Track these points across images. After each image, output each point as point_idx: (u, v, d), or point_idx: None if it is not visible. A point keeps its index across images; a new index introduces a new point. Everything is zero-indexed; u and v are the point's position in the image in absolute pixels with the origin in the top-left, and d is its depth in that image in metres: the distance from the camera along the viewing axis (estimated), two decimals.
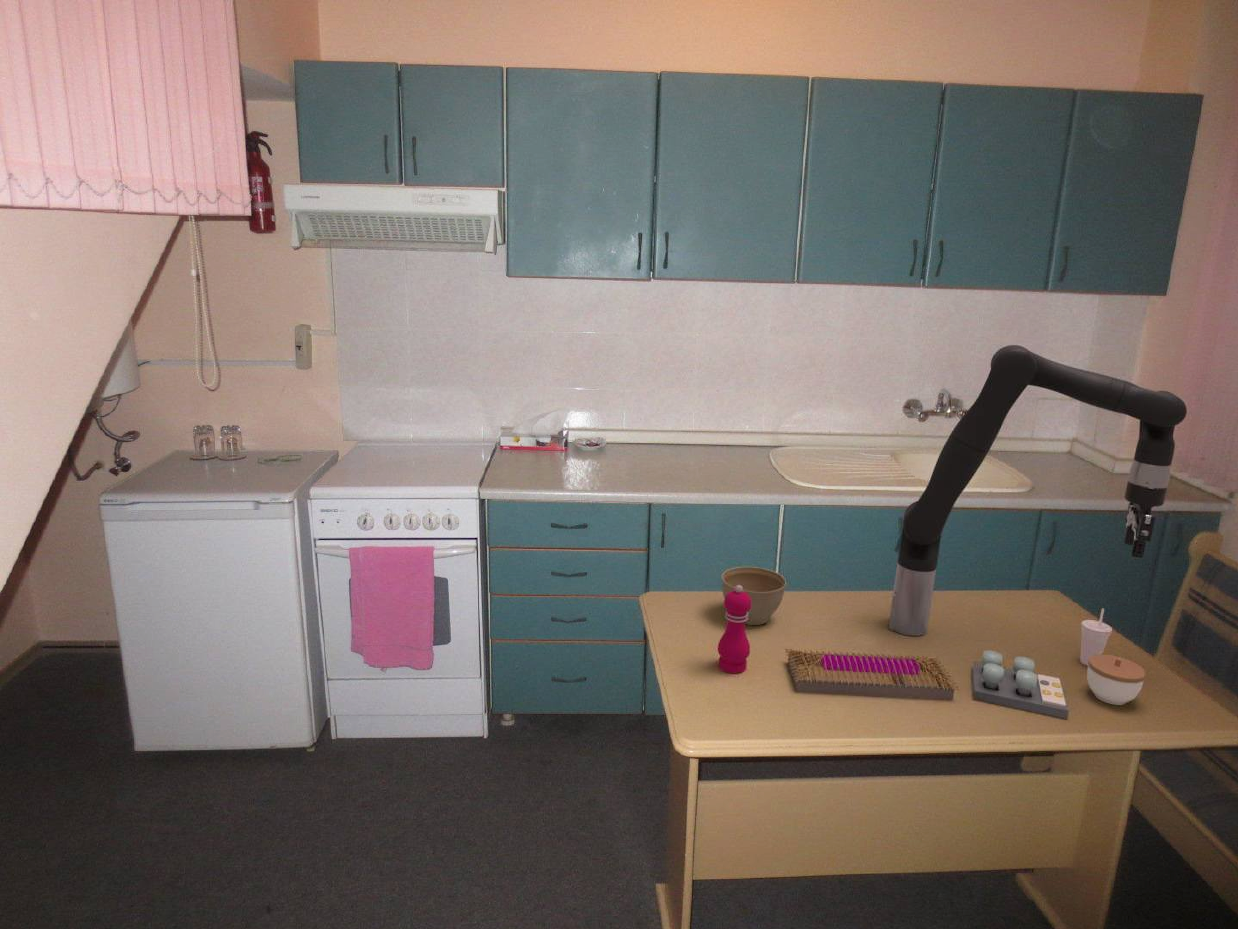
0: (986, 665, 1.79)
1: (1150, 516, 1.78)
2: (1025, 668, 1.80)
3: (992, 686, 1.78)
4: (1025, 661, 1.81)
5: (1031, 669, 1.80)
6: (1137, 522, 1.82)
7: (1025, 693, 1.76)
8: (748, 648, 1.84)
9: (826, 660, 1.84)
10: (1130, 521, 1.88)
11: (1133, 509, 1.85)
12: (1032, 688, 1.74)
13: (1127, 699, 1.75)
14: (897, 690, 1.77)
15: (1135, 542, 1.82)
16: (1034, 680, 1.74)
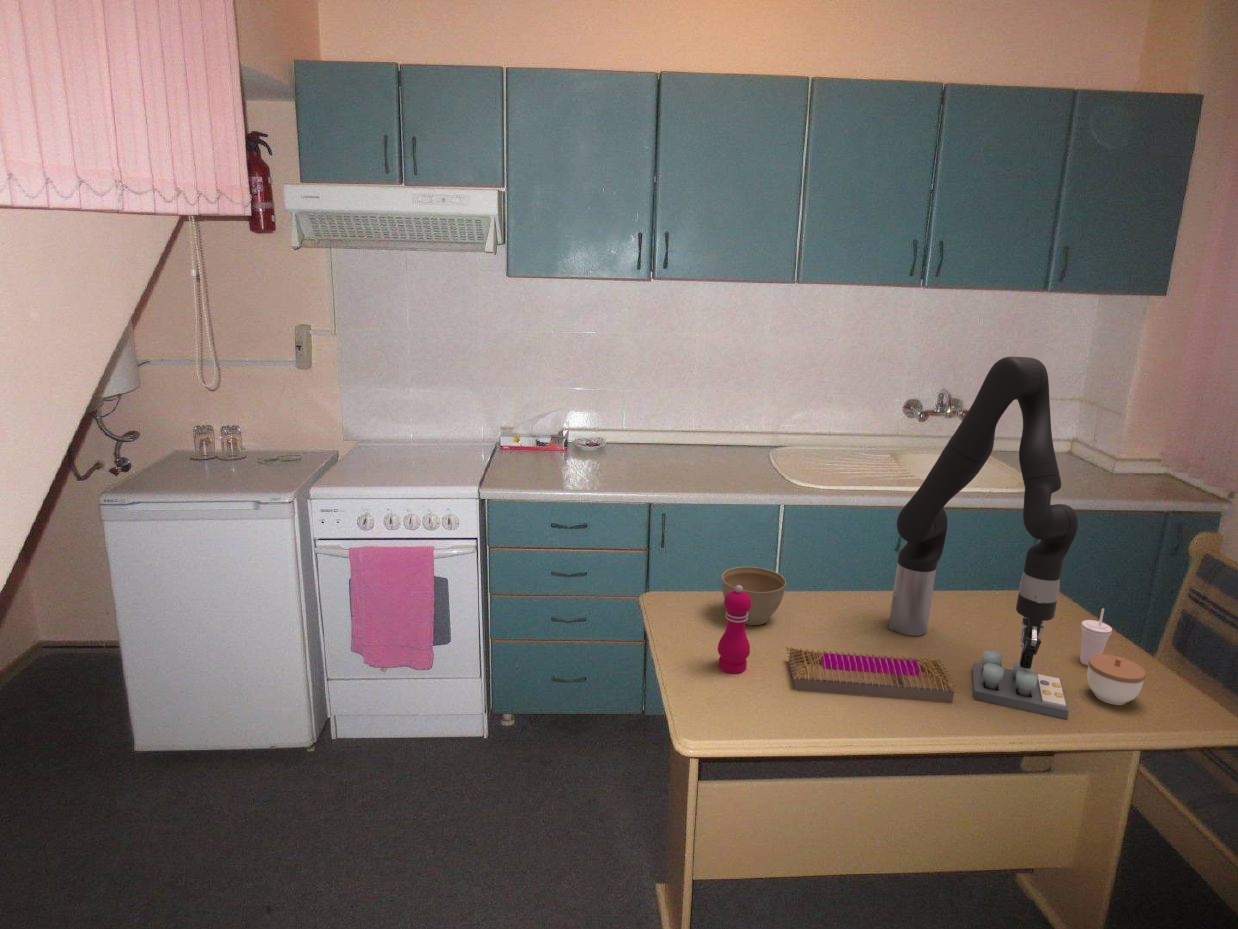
0: (986, 665, 1.79)
1: (1036, 642, 1.74)
2: None
3: (992, 686, 1.78)
4: None
5: None
6: None
7: (1025, 693, 1.76)
8: (748, 648, 1.84)
9: (826, 659, 1.84)
10: (1024, 637, 1.81)
11: (1025, 619, 1.81)
12: (1032, 688, 1.74)
13: (1127, 699, 1.75)
14: (896, 691, 1.76)
15: (1023, 653, 1.81)
16: (1034, 680, 1.74)
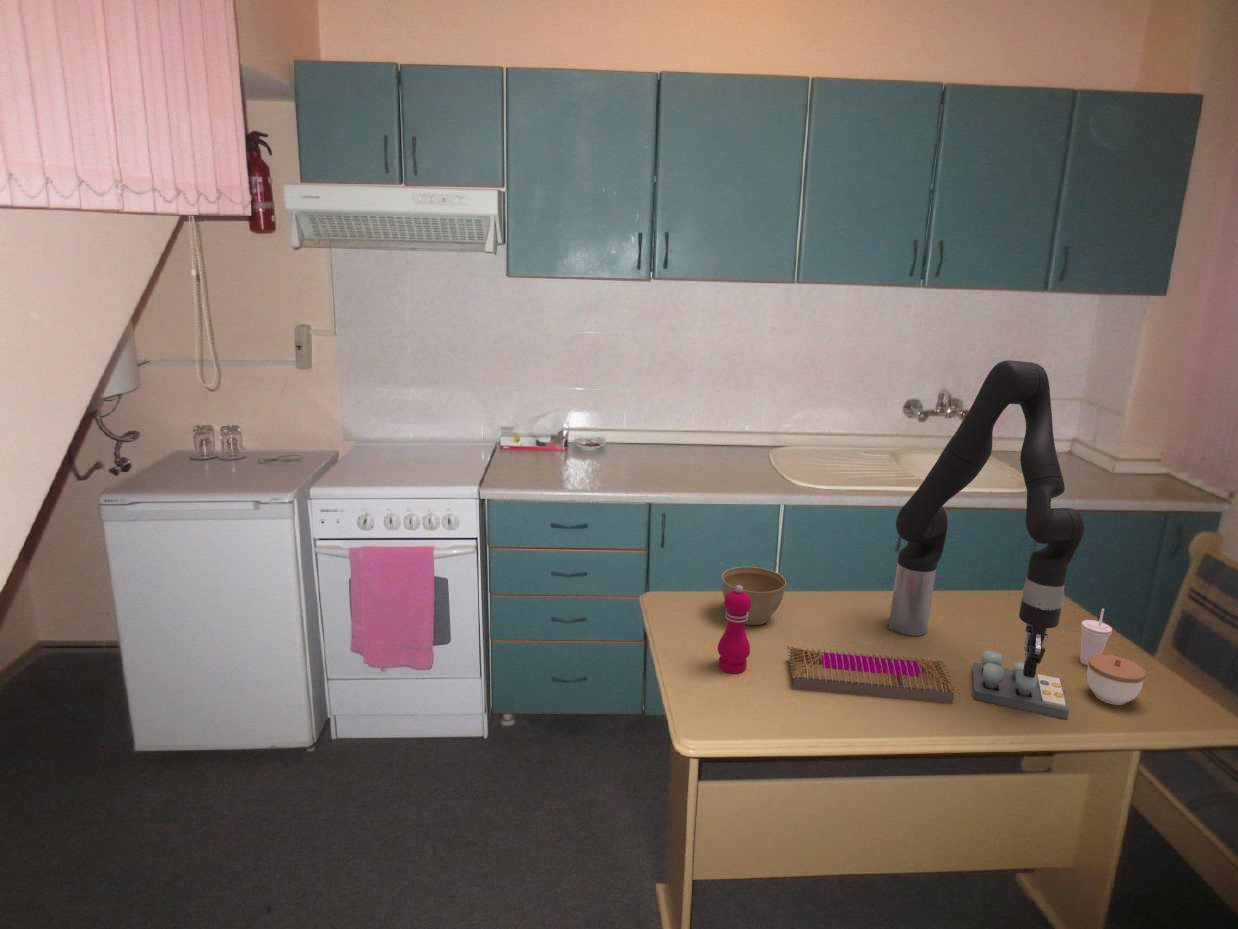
0: (986, 665, 1.79)
1: (1040, 650, 1.68)
2: None
3: (992, 686, 1.78)
4: None
5: None
6: None
7: (1025, 693, 1.76)
8: (748, 648, 1.84)
9: (826, 658, 1.85)
10: None
11: (1028, 626, 1.74)
12: (1032, 689, 1.74)
13: (1127, 699, 1.75)
14: (896, 691, 1.76)
15: (1026, 662, 1.74)
16: (1034, 681, 1.74)
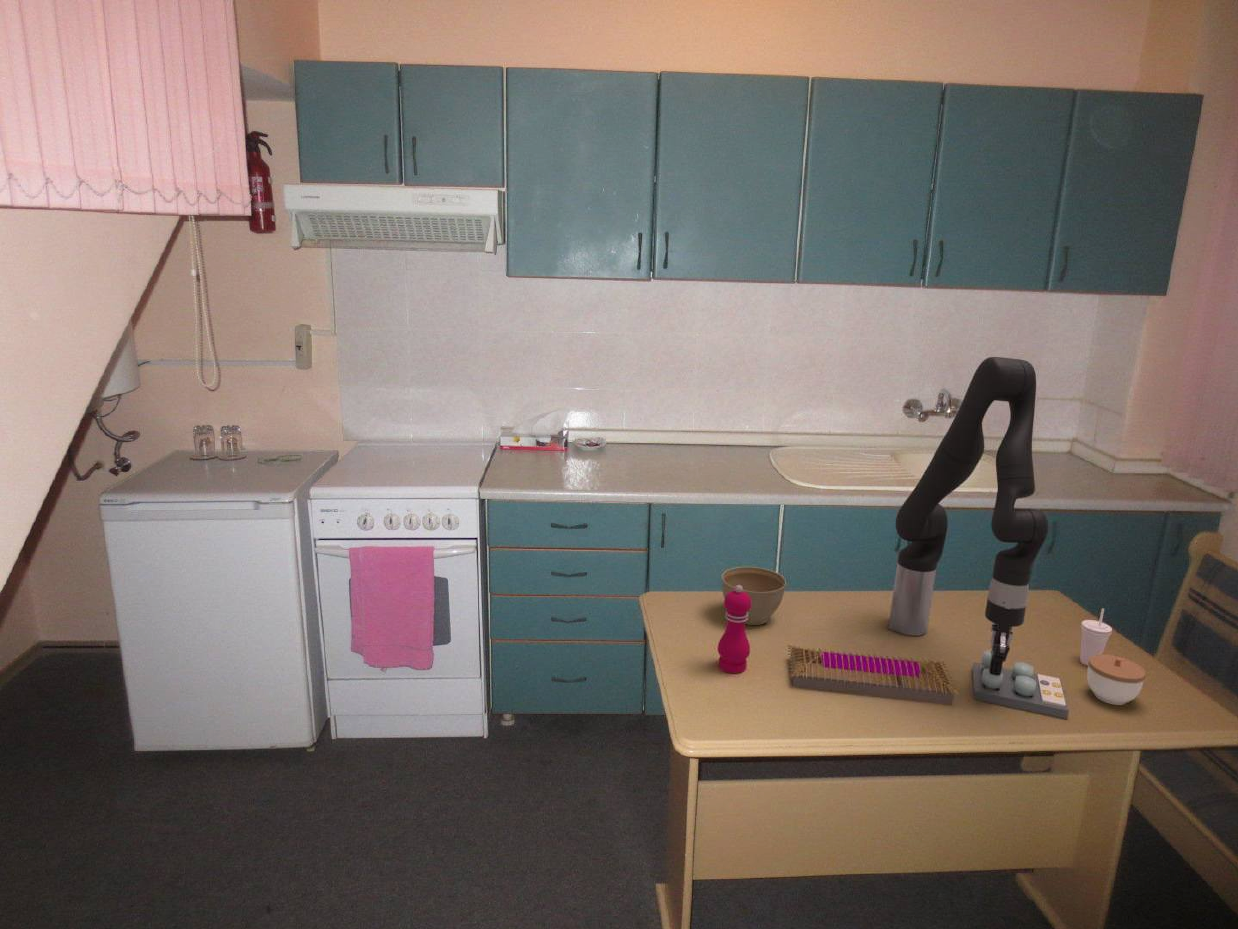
0: (985, 670, 1.79)
1: (1004, 649, 1.70)
2: (1024, 674, 1.80)
3: None
4: (1024, 667, 1.82)
5: (1030, 675, 1.80)
6: None
7: None
8: (748, 648, 1.84)
9: (827, 658, 1.85)
10: (994, 643, 1.77)
11: (994, 625, 1.77)
12: (1031, 694, 1.75)
13: (1127, 699, 1.75)
14: (895, 691, 1.76)
15: (992, 660, 1.77)
16: (1033, 686, 1.74)
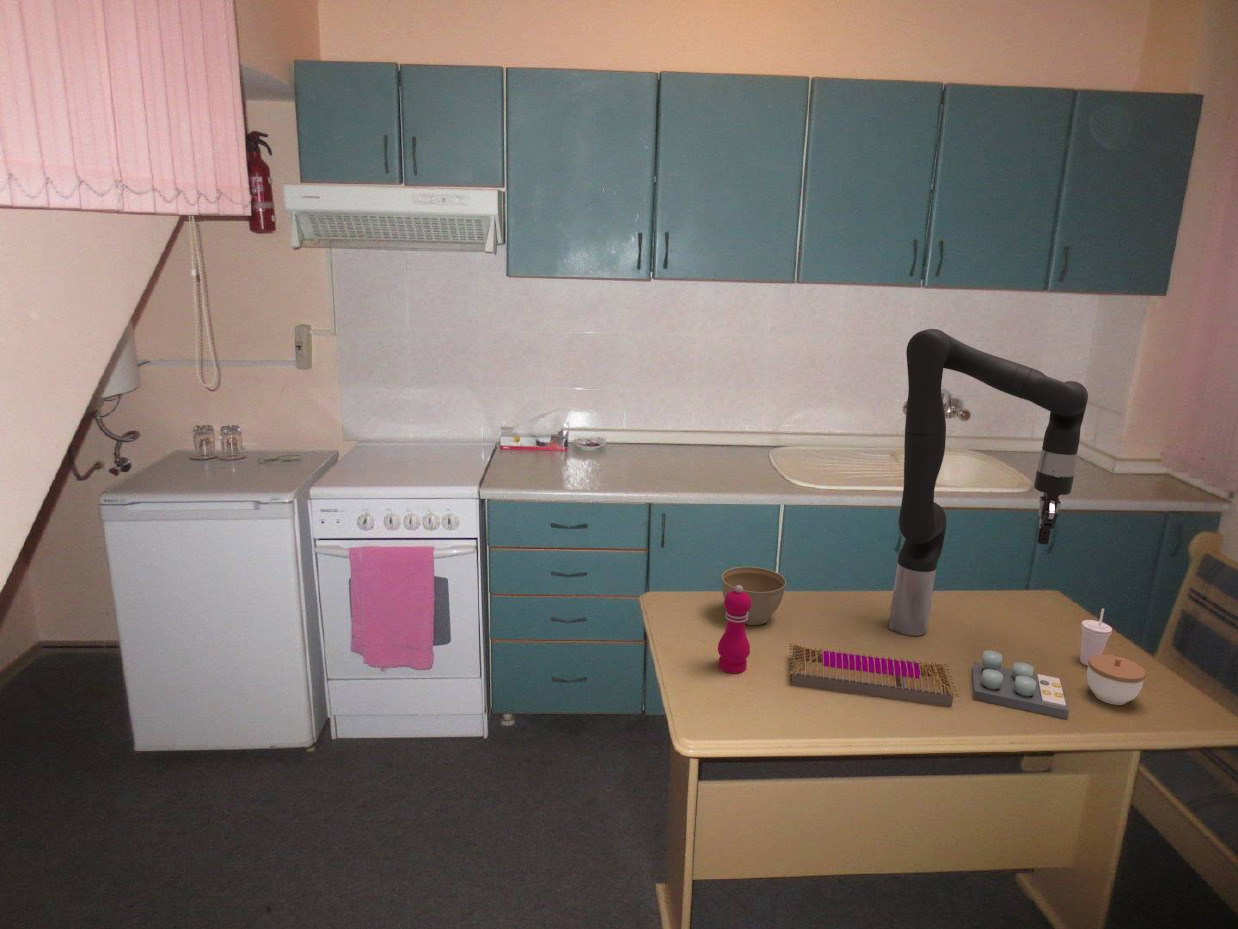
0: (985, 671, 1.79)
1: (1053, 514, 1.81)
2: (1024, 674, 1.80)
3: None
4: (1024, 667, 1.82)
5: (1030, 675, 1.80)
6: (1044, 511, 1.86)
7: None
8: (748, 648, 1.84)
9: (827, 657, 1.85)
10: None
11: (1043, 496, 1.88)
12: (1031, 694, 1.75)
13: (1127, 699, 1.75)
14: (894, 692, 1.76)
15: (1040, 529, 1.88)
16: (1033, 686, 1.74)
